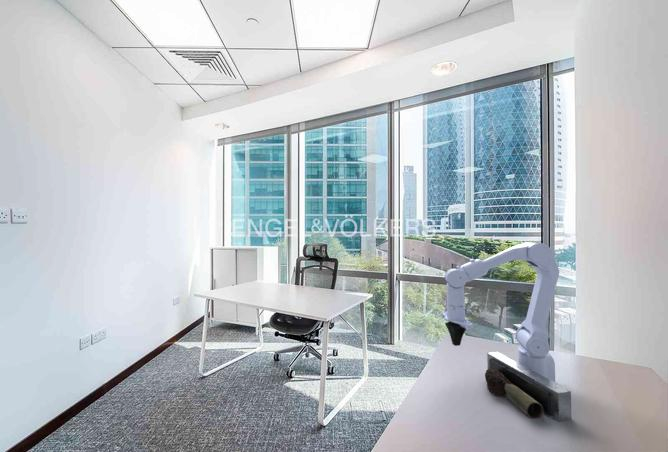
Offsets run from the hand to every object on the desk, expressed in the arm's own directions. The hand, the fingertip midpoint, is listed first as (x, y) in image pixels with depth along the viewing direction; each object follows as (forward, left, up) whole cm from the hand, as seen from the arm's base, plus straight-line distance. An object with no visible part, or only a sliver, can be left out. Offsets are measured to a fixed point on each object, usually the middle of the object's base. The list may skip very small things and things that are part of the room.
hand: (456, 344), depth 95 cm
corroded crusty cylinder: (-5, +16, -10) cm, 19 cm away
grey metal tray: (-11, +15, -9) cm, 21 cm away
